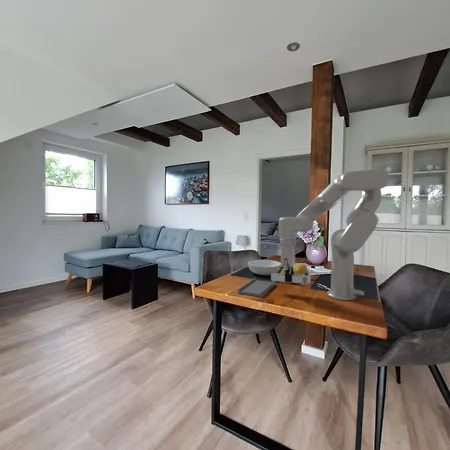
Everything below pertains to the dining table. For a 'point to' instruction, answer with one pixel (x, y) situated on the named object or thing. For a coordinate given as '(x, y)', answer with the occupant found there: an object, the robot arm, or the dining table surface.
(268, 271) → the serving bowl
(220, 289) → the dining table surface
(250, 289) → the rest tray
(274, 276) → the grey grooved bar
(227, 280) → the dining table surface
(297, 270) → the dumbbell
